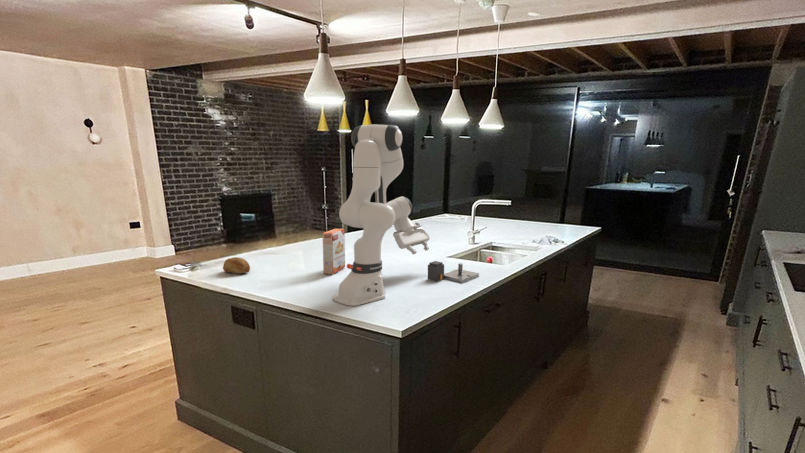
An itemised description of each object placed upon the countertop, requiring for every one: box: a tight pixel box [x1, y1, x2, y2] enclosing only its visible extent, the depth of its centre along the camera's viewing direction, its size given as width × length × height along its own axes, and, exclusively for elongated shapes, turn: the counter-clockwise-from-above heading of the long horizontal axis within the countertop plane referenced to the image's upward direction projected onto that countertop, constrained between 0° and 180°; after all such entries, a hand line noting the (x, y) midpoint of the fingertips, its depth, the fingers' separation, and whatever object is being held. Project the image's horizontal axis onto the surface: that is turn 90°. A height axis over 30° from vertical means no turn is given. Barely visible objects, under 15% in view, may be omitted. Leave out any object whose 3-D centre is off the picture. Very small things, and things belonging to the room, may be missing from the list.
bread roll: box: [222, 256, 251, 274], centre depth 199 cm, size 10×15×8 cm, turn 69°
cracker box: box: [322, 228, 346, 275], centre depth 200 cm, size 14×6×21 cm, turn 163°
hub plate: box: [443, 263, 480, 284], centre depth 189 cm, size 14×12×6 cm
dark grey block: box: [427, 260, 445, 282], centre depth 186 cm, size 6×6×8 cm
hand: (421, 251), depth 191 cm, fingers open, 8 cm apart
